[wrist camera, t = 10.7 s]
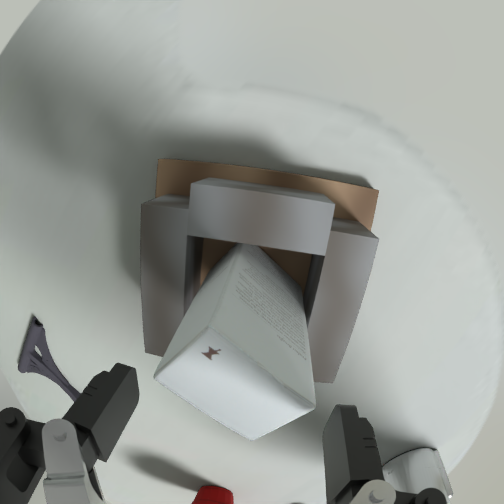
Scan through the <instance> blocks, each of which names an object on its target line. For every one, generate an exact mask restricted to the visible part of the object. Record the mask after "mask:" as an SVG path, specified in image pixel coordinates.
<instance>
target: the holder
mask: <svg viewBox="0 0 504 504" xmlns="http://www.w3.org/2000/svg"><path fill="white" fill-rule="evenodd" d="M378 193H379V191H378V190H376V189H373V188H368V187H363V186H359V185H354V184H349V183H344V182H339V181H334V180H329V179H323V178H318V177H312V176H306V175H300V174H294V173H288V172H281V171H275V170H268V169H261V168H253V167H245V166H237V165H229V164H220V163H210V162H200V161H188V160H176V159H158V168H157V181H156V195H155V199H153V200H150V201H148V202H145V203H143V204H141V240H140V263H141V299H142V318H143V332H144V345H145V353H149V354H153V355H157V356H161V357H163V356H164V354H165V352H166V350H167V348H168V346H169V344H170V342H171V341H172V339H173V337H174V335H175V333H176V331H177V329H178V327H179V326H180V324H181V322H182V320H183V318H184V316H185V314H186V312H187V310H188V309H189V307H190V305H191V303H192V301H193V299H194V298H195V296H196V294H197V292H198V290H199V288H200V286H201V285H202V283H203V281H204V279H205V278H206V276H207V274H208V272H209V271H210V270H211V269H212V268H213V267H214V266H215V265H216V264H217V263H218V262H219V261H220V259H221V258H222V257H223V256H224V255H225V254H226V253H227V252H228V251H229V250H230V249H231V248H232V247H233V246H234V245H235V244H236V243H237V242H238V243H244V244H251V245H257V246H259V247H260V248H261V249H262V250H263V251H264V252H265V253H266V254H267V255H268V256H269V257H270V258H271V259H272V260H273V261H274V262H276V263H277V264H278V265H279V266H280V267H281V268H282V269H283V270H284V271H285V272H286V273H287V274H288V275H289V276H290V277H291V278H292V279H293V280H294V281H295V282H296V283H298V284H299V285H300V286H301V289H302V295H303V303H304V310H305V317H306V324H307V332H308V339H309V347H310V356H311V363H312V372H313V380H314V382H323V383H333V381H334V379H335V376H336V374H337V371H338V369H339V366H340V364H341V361H342V358H343V356H344V353H345V350H346V348H347V345H348V342H349V339H350V336H351V333H352V331H353V328H354V325H355V322H356V319H357V316H358V313H359V309H360V306H361V303H362V300H363V297H364V293H365V290H366V286H367V283H368V280H369V276H370V272H371V269H372V265H373V261H374V258H375V254H376V250H377V246H378V242H379V239H378V238H377V237H376V236H375V235H374V234H373V233H372V232H371V227H372V223H373V218H374V213H375V208H376V203H377V198H378Z"/></svg>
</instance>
